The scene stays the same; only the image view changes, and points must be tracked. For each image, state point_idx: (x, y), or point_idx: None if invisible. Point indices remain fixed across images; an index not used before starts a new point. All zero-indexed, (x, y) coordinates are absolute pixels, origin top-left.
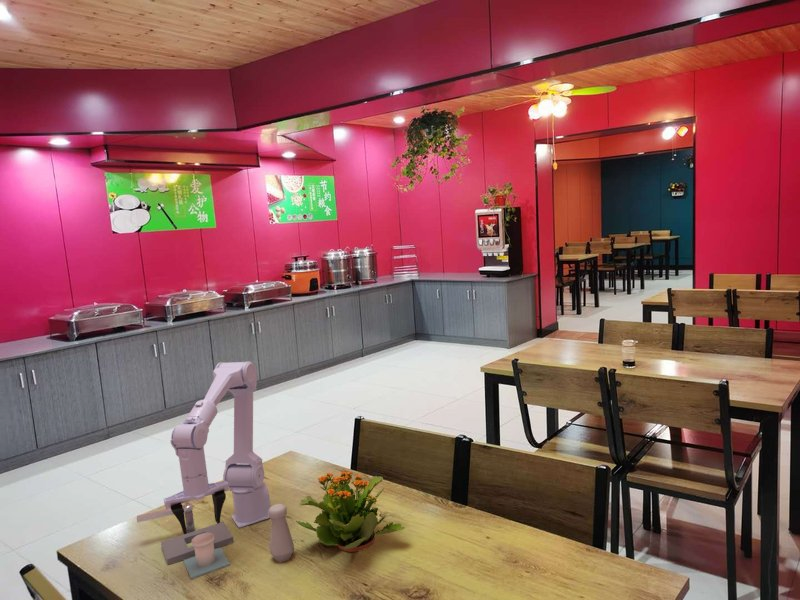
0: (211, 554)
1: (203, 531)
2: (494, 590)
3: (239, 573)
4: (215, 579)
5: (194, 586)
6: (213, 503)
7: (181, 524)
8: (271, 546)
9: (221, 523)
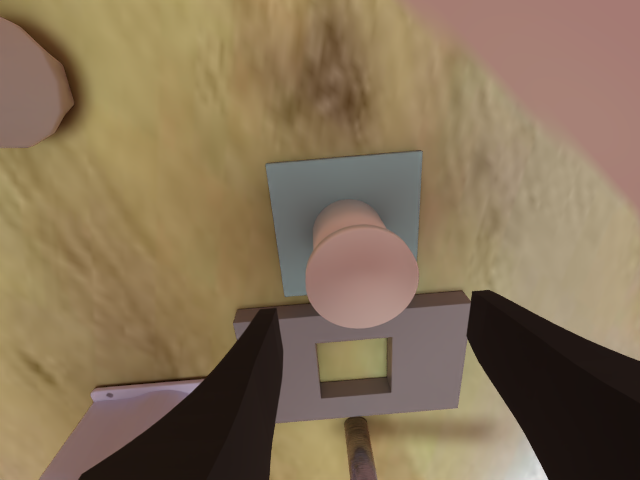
0: (330, 219)
1: (325, 401)
2: None
3: (234, 69)
4: (335, 87)
5: (420, 86)
6: (268, 477)
7: (563, 329)
8: (12, 62)
9: None
